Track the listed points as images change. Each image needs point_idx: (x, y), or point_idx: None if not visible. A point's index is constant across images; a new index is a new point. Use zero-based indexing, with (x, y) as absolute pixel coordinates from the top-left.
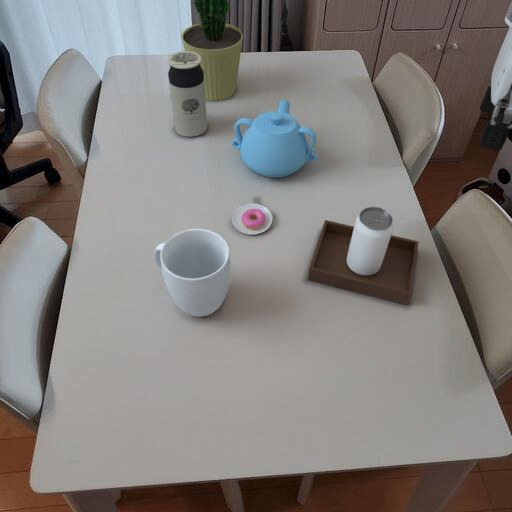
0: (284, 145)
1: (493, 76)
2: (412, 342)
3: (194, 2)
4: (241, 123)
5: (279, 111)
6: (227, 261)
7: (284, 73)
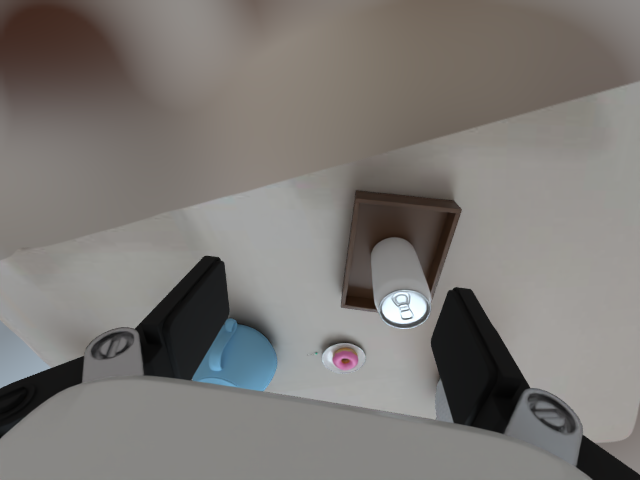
0: (250, 376)
1: None
2: (516, 193)
3: None
4: None
5: None
6: None
7: (73, 345)
